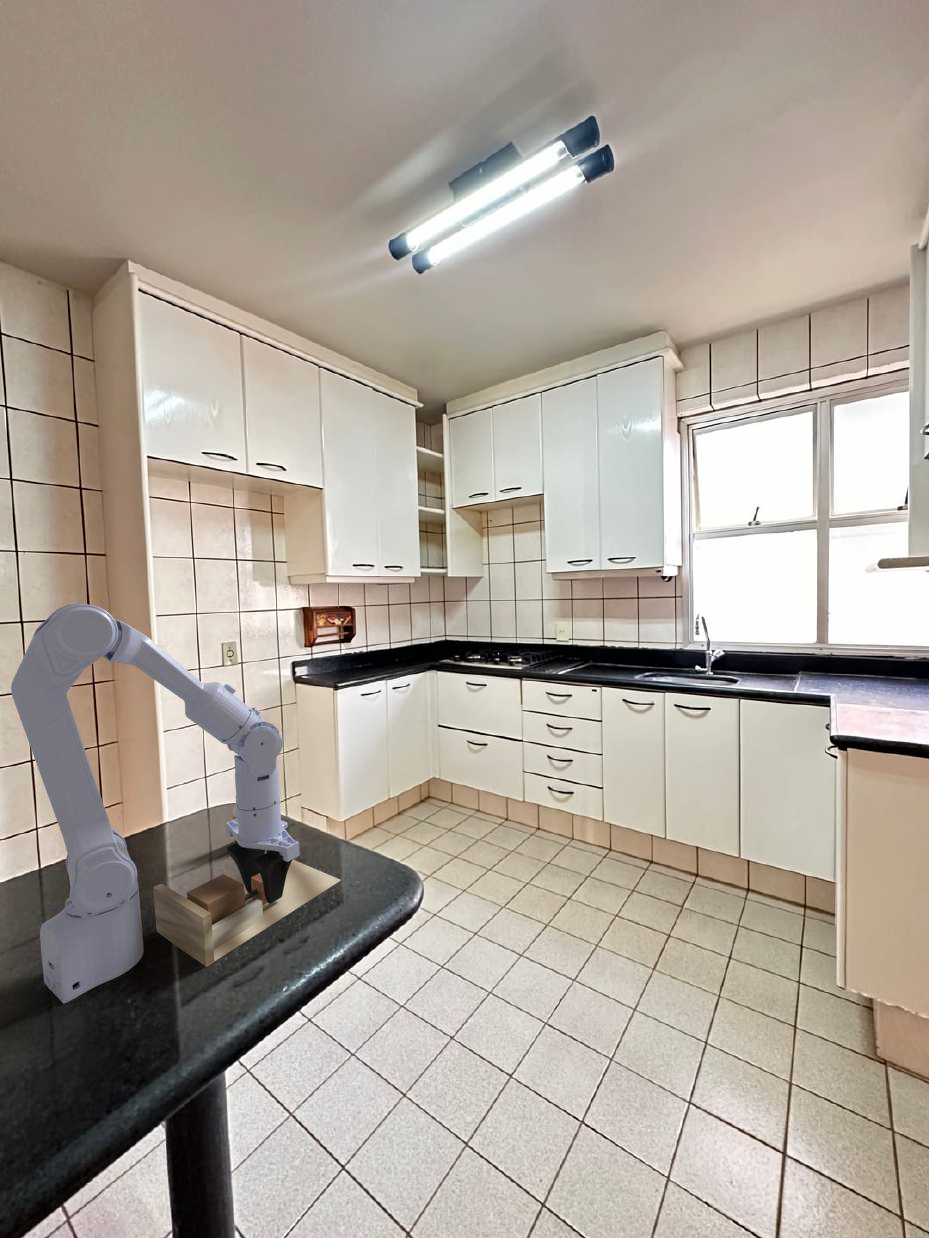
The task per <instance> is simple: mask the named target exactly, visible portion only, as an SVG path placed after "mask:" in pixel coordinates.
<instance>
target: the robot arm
mask: <svg viewBox="0 0 929 1238" xmlns="http://www.w3.org/2000/svg"><path fill="white" fill-rule="evenodd" d="M101 658H105V659H106V660H107V661H108V662H109V663H115V664H123V665H129V666H130V665H131V666H134V667H136V668H137V669H139V671H142V672H143V673H144V674H146V675H148V677H150V678H151V679H152V680H154V681H156V682H157V683H158V684H159V685H161V686H162V687H164V688H165V689H167V690H168V691H170V692H171V693H172V694H174V695H175V696H177V697H178V698H180V699H181V700H182V701H183V702H184V714H185V717H186V718H188V720H190V721H191V722H193V723H194V724H196V725H197V726H198V727H200V728H201V729H203V730H204V731H205V732H206V733H207V734H209V735H210V736H211V737H212V738H214V739H216V740H217V741H219V742H220V743H221V744H223V745H226V746H227V748H228V750H229V751H230V752H233V753H235V754H236V755H234V756H233V757H234V782H235V783H234V786H235V802H236V801H237V804H236V805H237V817H238V818H237V819H235V820H233V819H231V820H230V821H228V822H225V833H226V836H227V837H229V838H232V837H233V839H234V838H235V839H236V841H235V844H234V843H233V844H231V845H230V844H229V846H228V847H227V849H226V850H227V853H228V854H229V856H230V857H231V859H232V860H233V861H234V863H235V864H236V866H237V869H238V871H239V873H240V876H241V879H242V880H241V881H242V882H243V883H242V884H244V885H245V888H246V891H247V892H248V893H250V892H252V887H251V877H253V876H255V875H257V874H259V873H260V875H261V878H262V881H263V886H264V893H265V897H266V900H267V902H268V903H269V904H271V903H273V902H275V901H276V900H278V899H280V898H281V897H282V895H283V890H284V885H285V880H286V876H287V872H288V869H289V867H290V864H291V862H292V860H295V859H296V858H298V857H299V856H300V842H299V841H297V840H295V839H293V837H292V836H291V835H290V833H289V832H288V831H287V830H286V829H287V828H288V827H289V825H288V822H287V821H285V820H282V812H281V811H282V810H281V794H280V793H281V792H280V780H279V779H280V777H279V767H278V756H279V754H280V753H281V751H282V749H283V747H284V738H283V737H282V736H281V735H280V730H279V729H278V728H277V727H276V726H275V725H274V724H273V723H270V722H269V721H267V720H265V719H263V718H262V717H261V716H260V715H261V711H260V710H259V709H258V708H257V707H252V708H251V707H250V706H249V705H247V704H246V703H245V702H243V701H242V700H241V699H240V698H239V697H238V696H236V695H235V693H236V691H237V690H236V689H235V688H234V687H232V685H230V684H228V683H226V684H225V685H223V684H222V683H221V682H216V681H213V682H207V683H206V682H202V681H201V680H200V679H198V678H197V677H196V676H195V675H194V674H192V673H191V672H190V671H189V670H188V669H187V668H185V667H184V666H183V665H182V664H181V663H179V662H178V660H176V659H175V658H173V657H172V656H171V655H170V654H169V653H168V652H167V651H165V650H164V649H163V648H161V646H159V645H158V644H157V643H155V641H154V640H152V639H151V638H150V637H148V636H147V635H146V634H144V633H142V632H140V631H139V630H137V629H135V628H134V627H132V626H130V625H129V624H128V623H125V622H123V621H122V620H120V619H116V618H114V617H113V616H112V614H110V613H109V612H108V611H107V610H106V609H103V608H102V607H100V606H96V605H93V604H88V603H87V604H86V603H72V604H67V605H63V606H61V607H59V608H57V609H56V610H54V611H53V612H52V613H51V614H50V615H49V616H48V617H47V618H46V619H45V620H44V621H43V622H42V623H41V624H40V625H39V626H38V627H37V628H36V629H35V630H34V634H33V636H32V638H31V640H30V642H29V645H28V647H27V648H26V651H25V653H24V655H23V657H22V660H21V662H20V664H19V666H18V668H17V669H16V670H17V671H16V672H15V674H14V676H13V678H12V679H13V680H12V681H11V686H10V688H11V689H10V690H11V696H12V699H13V702H14V704H15V708H16V711H17V713H18V715H19V719H20V721H21V725H22V727H23V729H24V733H25V735H26V738H27V741H28V744H29V746H30V750H31V752H32V755H33V757H34V760H35V763H36V766H37V769H38V772H39V774H40V777H41V780H42V783H43V786H44V788H45V791H46V793H47V797H48V799H49V802H50V805H51V808H52V810H53V813H54V816H55V819H56V821H57V824H58V827H59V829H60V830H59V831H60V833H61V835H62V838H63V842H64V845H65V850H66V857H65V868H66V871H67V873H68V878H69V879H68V880H69V884H70V885H69V887H70V889H69V897H68V898H66V900H65V902H64V904H65V905H64V908H63V909H62V910H61V911H59V913H58V914H56V915H55V916H53V917H52V918H50V919H48V920H46V921H45V922H43V923H42V924H41V925H40V929H39V941H40V952H41V953H40V954H41V963H42V964H41V965H42V974H43V982H44V984H45V985H46V986H47V988H48V989H49V990H50V991H51V992H53V994H54V995H55V996H56V997H57V998H58V999H59V1000H60V1002H62V1004H64V1005H65V1004H66V1003H69V1002H70V1001H72V1000H74V999H76V998H77V997H79V996H81V995H83V994H85V993H87V992H88V991H90V990H92V989H94V988H96V987H97V986H99V985H102V984H105V983H107V982H109V981H111V980H114V979H116V978H117V977H120V976H121V975H123V974H125V973H126V972H128V971H130V970H131V969H132V968H133V967H134V966H136V965H137V964H138V963H139V962H140V960H141V958H142V957H143V955H144V951H145V950H144V949H145V948H144V940H143V928H142V926H143V925H142V915H141V913H142V912H141V902H140V901H141V900H140V891H139V890H140V889H139V888H140V887H139V881H138V870H137V866H136V864H135V862H134V861H133V860H132V859H131V857H130V854H129V851H128V845H127V842H126V840H125V838H124V837H123V836H122V835H121V834H120V833H119V832H117V831H116V830H115V829H114V828H112V825H111V822H110V820H109V816H108V813H107V811H106V807H105V804H104V803H103V800H102V796H101V793H100V789H99V787H98V784H97V782H96V779H95V778H96V777H95V775H94V772H93V770H92V767H91V763H90V761H89V758H88V755H87V752H86V749H85V746H84V743H83V740H82V737H81V734H80V731H79V728H78V725H77V722H76V719H75V716H74V713H73V710H72V708H71V704H70V702H69V698H68V696H67V695H68V692H69V690H70V689H71V688H72V686H73V685H74V684H75V682H76V681H78V679H79V678H80V676H81V675H82V673H83V672H84V670H86V669H87V668H88V667H90V666H91V665H93V664H95V663H96V662H97V661H99V660H101ZM75 984H77V985H76V986H74V985H75ZM73 986H74V987H73Z"/></svg>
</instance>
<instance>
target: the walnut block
mask: <svg viewBox="0 0 929 1238" xmlns="http://www.w3.org/2000/svg"><path fill="white" fill-rule="evenodd" d="M251 887H252V892H250V893H248V894H247V895H245V891H244V883H242V882H239V881H238V880H236V879H235V878H232V877H230V876H228V875H226V874H220V875H218V876H217V877H214V878H212V879H210V880H208V881H207V882H205V883H203V884H201V885H198V886H197V887H194V888H193V889H190V890H189V891H187V892H186V896H187V897H186V899H188V900H190V901H191V902H193V903H195V904H196V905H198V906H200V907H201V908H203V909H205V910H207V911H208V912H210V913H211V920H212V925H213V924H215V923H217V922H219V921H220V920H222V919H224V918H225V917H227V916H229V915H231V914H232V913H234V912H236V911H238V910H239V909H241V908H243V907H244V906H245V901H247V900H248V899H250V898H252V899H253V900H257V899H259V900H261V901H262V905H263V904H264V903H266V902H267V900H266V897H265V893H264V886H263V881H262V878H261V875H260V873H259V874H257V875H255V876H253V877H251Z"/></svg>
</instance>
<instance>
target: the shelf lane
mask: <svg viewBox="0 0 929 1238" xmlns="http://www.w3.org/2000/svg"><path fill="white" fill-rule="evenodd" d="M340 881H342V879H339V878H338V877H336V876H333V875H330V874H328V873H325V872H324V871H321V870H319V869H316V868H314V867H311V866H309V865H307V864H304V863H303V862H299V861H297V860H295V859H293V860H292V862H291V864H290V867H289V869H288V872H287V876H286V880H285V885H284V890H283V895H282V897H281V898H280V899H278V900H276V901H275V902H273V903H271V904H269V903H268V902H266V903H264V904H263V905H262V901H261V900H259V899H257V900H253V899H252V898H250V899H248V900H247V901H245V906H244V907H243V908H241V909H239V910H238V911H236V912H234V913H232V914H231V915H229V916H227V917H225V918H224V919H222V920H220V921H219V922H217V923H215V924H213V925H212V920H211V913H210V912H208V911H207V910H205V909H203V908H201V907H200V906H198V905H196V904H195V903H193V902H191V901H190V900H188V899H187V897H185V896H184V895H181V894H180V893H178V892H176V891H175V890H173V889H171V888H170V887H168V886H166V885H164V884H163V883H159V884H157V885H155V886H153V890H152V891H153V901H154V911H155V914H154V915H155V924H156V926H155V927H156V933H158V934H160V935H161V936H162V937H164V938H165V939H167V940H168V941H169V942H171V943H172V944H174V945H175V946H177V947H178V948H179V949H181V950H182V951H183V952H185V953H186V954H188V955H189V956H191V958H193V959H195V960H196V961H198V962H199V963H200V964H202V965H203V966H204V967H209V966H210V965H212V964H213V963H215V962H216V961H218V960H219V959H221V958H223V957H224V956H226V955H227V954H228V953H230V952H232V951H233V950H235V949H236V948H238V947H240V946H241V945H243V944H244V943H247V942H248V941H249V940H251V939H252V938H253V937H255V936H257V935H258V934H260V933H262V932H263V931H264V930H266V929H267V928H269V927H271V926H273V925H274V924H275V923H277V922H279V921H280V920H282V919H284V918H285V917H286V916H287V915H289V914H291V913H292V912H294V911H296V910H297V909H299V908H300V907H302V906H303V905H305V904H307V903H308V902H309V901H311V900H313V899H315V897H317V896H319V895H320V894H323V892H325V891H327V890H328V889H330V888H331V887H333V886H334V885H336V884H337V883H339V882H340ZM244 891H245V895H247V894H248V892H247V891H246V888H245V885H244Z"/></svg>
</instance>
